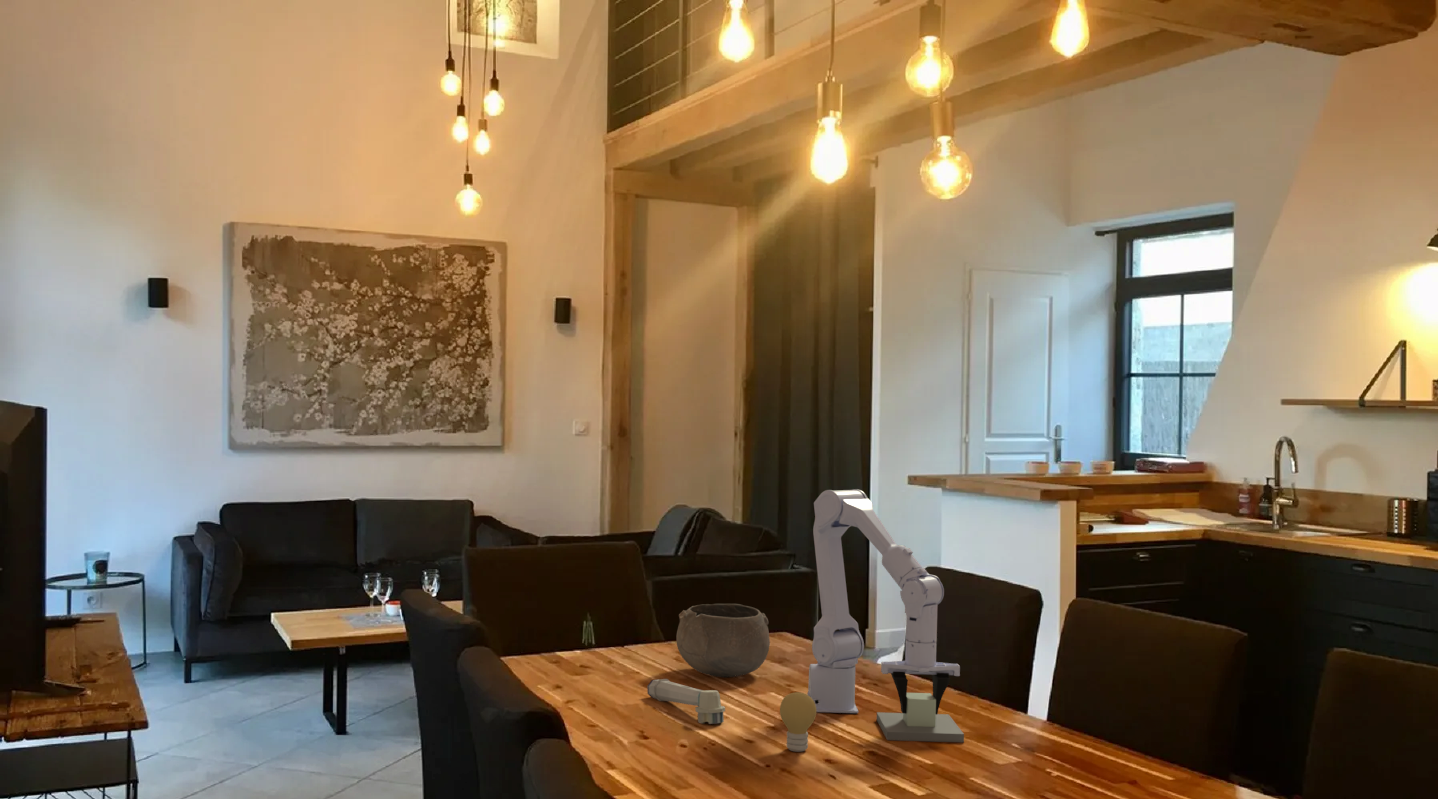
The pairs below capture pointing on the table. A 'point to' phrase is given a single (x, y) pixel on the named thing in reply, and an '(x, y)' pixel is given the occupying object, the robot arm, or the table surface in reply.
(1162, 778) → the table surface
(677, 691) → the toothbrush head
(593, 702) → the table surface
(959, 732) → the post board
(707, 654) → the clay pot
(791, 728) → the light bulb
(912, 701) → the pale green cube
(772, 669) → the table surface
